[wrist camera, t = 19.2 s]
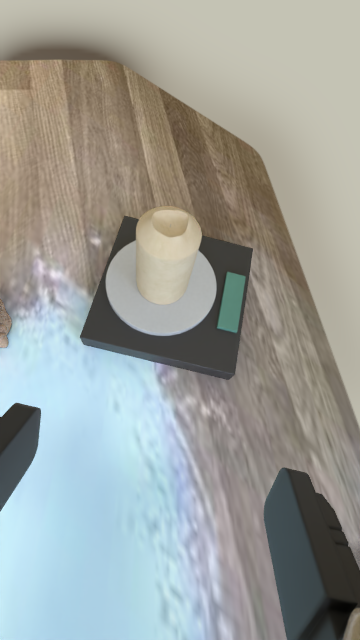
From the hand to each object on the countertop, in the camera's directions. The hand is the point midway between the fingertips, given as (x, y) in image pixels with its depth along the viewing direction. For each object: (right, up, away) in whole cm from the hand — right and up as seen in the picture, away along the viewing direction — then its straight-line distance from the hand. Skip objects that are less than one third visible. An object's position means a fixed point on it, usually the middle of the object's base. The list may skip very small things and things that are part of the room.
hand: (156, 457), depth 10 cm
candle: (-1, +8, +24) cm, 26 cm away
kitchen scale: (0, +7, +27) cm, 28 cm away
